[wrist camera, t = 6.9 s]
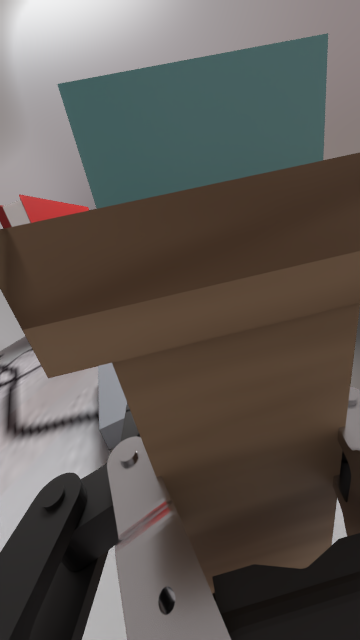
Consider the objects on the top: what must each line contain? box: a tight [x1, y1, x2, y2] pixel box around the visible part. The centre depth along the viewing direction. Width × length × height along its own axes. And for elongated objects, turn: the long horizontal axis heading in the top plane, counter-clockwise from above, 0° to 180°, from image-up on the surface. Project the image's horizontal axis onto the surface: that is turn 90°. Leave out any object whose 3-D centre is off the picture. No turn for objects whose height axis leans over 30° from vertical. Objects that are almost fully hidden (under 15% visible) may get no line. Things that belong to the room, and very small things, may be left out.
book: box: [0, 195, 89, 228], centre depth 63 cm, size 27×8×32 cm, turn 170°
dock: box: [98, 363, 127, 450], centre depth 25 cm, size 14×12×2 cm
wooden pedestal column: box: [0, 153, 360, 594], centre depth 8 cm, size 6×6×14 cm
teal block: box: [58, 34, 328, 209], centre depth 5 cm, size 4×4×3 cm
